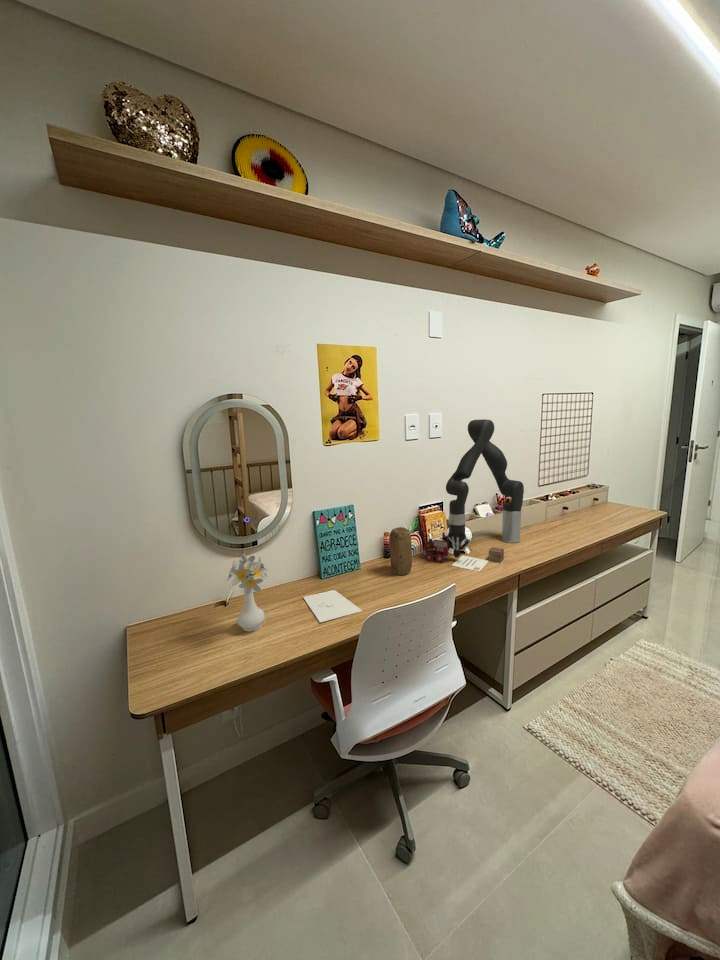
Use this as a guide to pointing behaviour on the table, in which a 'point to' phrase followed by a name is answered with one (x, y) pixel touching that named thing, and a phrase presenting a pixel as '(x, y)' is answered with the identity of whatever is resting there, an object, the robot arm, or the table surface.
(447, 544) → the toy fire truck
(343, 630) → the table surface
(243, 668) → the table surface
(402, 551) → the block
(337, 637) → the table surface
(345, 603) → the paper sheet
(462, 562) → the letter
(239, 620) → the flower vase
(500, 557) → the cube
